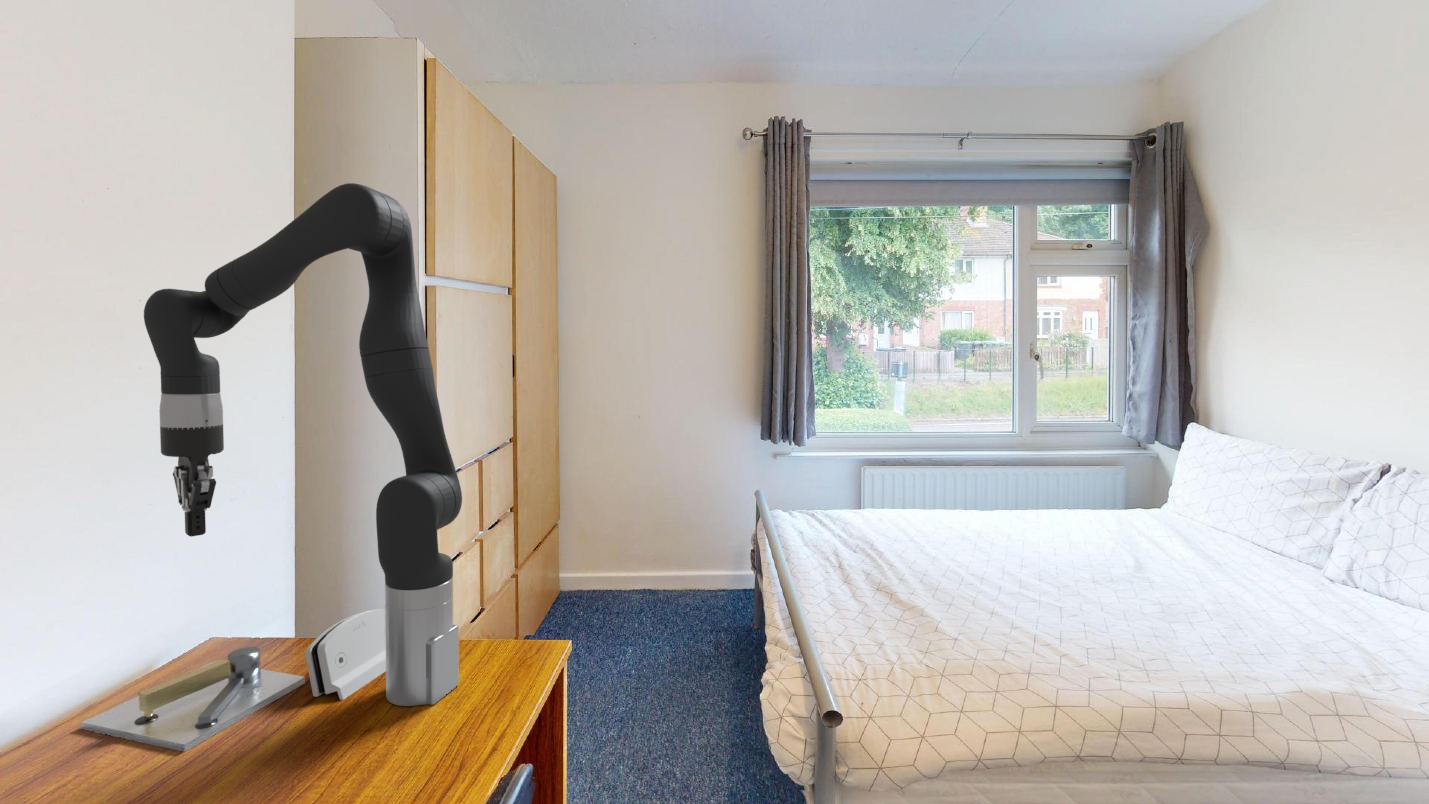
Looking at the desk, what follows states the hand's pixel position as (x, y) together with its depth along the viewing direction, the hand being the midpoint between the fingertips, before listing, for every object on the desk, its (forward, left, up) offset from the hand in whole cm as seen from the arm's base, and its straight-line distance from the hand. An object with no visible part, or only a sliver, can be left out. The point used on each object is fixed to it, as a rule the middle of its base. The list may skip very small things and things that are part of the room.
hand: (195, 534), depth 100 cm
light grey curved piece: (-23, -8, -22) cm, 33 cm away
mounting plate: (-9, +7, -22) cm, 25 cm away
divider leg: (-9, +9, -21) cm, 24 cm away
